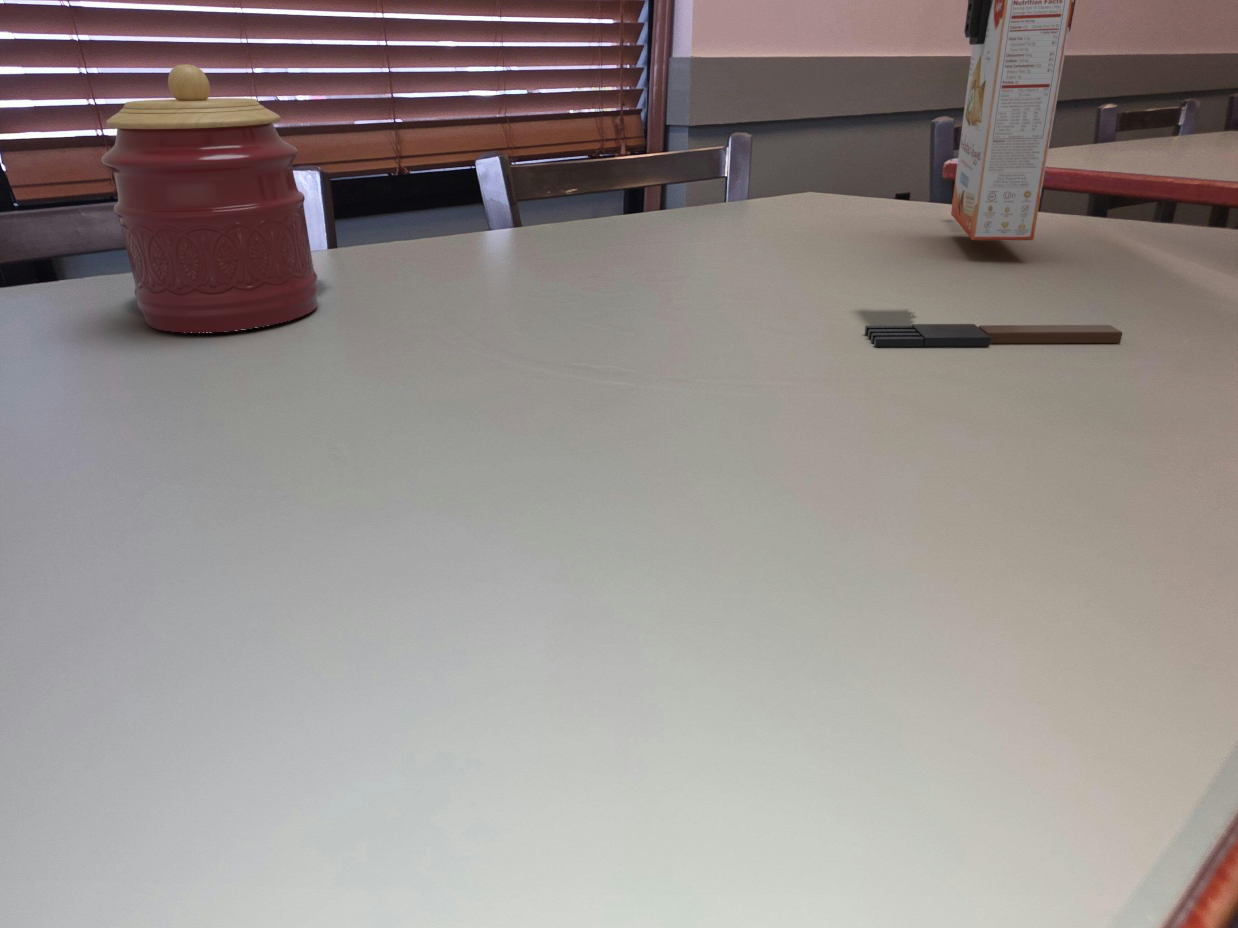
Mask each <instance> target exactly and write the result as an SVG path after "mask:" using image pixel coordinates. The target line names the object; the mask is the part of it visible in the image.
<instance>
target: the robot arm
mask: <svg viewBox="0 0 1238 928" xmlns="http://www.w3.org/2000/svg"><path fill="white" fill-rule="evenodd" d="M1076 1H1077V0H1074V5H1073V10H1072V16H1071V22H1070V28H1069V32H1070V31H1071V30H1072V23H1073V18H1074V12H1075V6H1076ZM990 3H991V0H967V9H966V17H965V24H964V31H963V33H964V37H965V38H966V39H968V41H969V43H968V44H969V45H970V46H972V45H980V44H984V42H985V36H986V30H987V23H988V17H989V10H990Z"/></svg>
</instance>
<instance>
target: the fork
mask: <svg viewBox="0 0 1238 928" xmlns="http://www.w3.org/2000/svg"><path fill="white" fill-rule="evenodd" d="M864 335H865V336H867V339H869V340H870V342H871V343H872V344H873V345H874V347H875V348H923V347H925V348H948V347H949V348H953V347H954V348H958V347H959V348H973V347H974V348H976V347H977V348H979V347H980V348H984V347H985V348H986V347H987V348H988V347H990V345H991V344H993V345H994V344H1120V343H1121V341H1122V338H1123V331H1121V330H1120V329H1117V328H1116V327H1114V326H1112V325H1111V324H1025V325H1024V324H1009V325H1008V324H1007V325H1006V324H1003V325H1002V324H1000V325H999V324H998V325H997V324H995V325H994V324H991V325H990V324H987V325H985V324H984V325H981V324H979V325H978V326H977V325H976V324H975V323H912V324H909V325H905V324H904V325H865V326H864Z"/></svg>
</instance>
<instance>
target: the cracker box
mask: <svg viewBox="0 0 1238 928" xmlns="http://www.w3.org/2000/svg"><path fill="white" fill-rule="evenodd" d="M1073 5H1074V0H991V3H990V10H989V17H988V23H987V30H986V36H985V42H984V44H980V45H971V46H972V47H971V53H970V61H969V62H970V63H969V71H968V77H967V84H966V85H967V86H966V94H965V101H964V109H963V115H962V126H961V132H960V141H959V150H958V155H957V157H958V158H957V165H956V172H955V178H954V179H955V180H954V187H953V193H952V194H953V195H952V204H951V212H950V214H951V215H950V216H952V218H954V220H955V221H956V222H957V224H958V225H959V226H960V228H961V229H962V230H963V231H964V232H965V233H966V235H967V236H968V237H969V238H970V240H971V241H1033V240H1034V239H1035V232H1036V227H1037V220H1038V215H1039V209H1040V202H1041V197H1042V191H1043V184H1044V179H1045V171H1046V167H1047V161H1048V155H1049V149H1050V143H1051V137H1052V131H1053V125H1054V121H1055V114H1056V109H1057V102H1058V96H1059V90H1060V86H1061V85H1060V84H1061V79H1062V73H1063V67H1064V61H1065V55H1066V51H1067V50H1066V49H1067V45H1068V39H1069V33H1070V31H1069V28H1070V22H1071V16H1072V10H1073ZM1071 23H1072V22H1071Z"/></svg>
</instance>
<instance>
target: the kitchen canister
mask: <svg viewBox="0 0 1238 928" xmlns="http://www.w3.org/2000/svg"><path fill="white" fill-rule="evenodd" d="M167 77H168V78H167V85H168V90H169V91H170V94H171V95H172V97H173V98H172V99H171V98H169V99H168V98H167V99H147V100H133V101H127V102H125V103H124V104H123V107H122V108H121V109H120V110H119V111H118V112H117V113H115V114H113V115H112V116H111V117H109V118H108V119H107V120H106V126H108V127H109V128H111V129H116V137H115V142H114V145H113V146H112V147H111V148H110V149H109V150H107V151H106V152H105V153H104V154H103V155H102V156H101V163H102V164H103V165H104V166H105V167H106V168H108V169H109V170H110V171H111V172H112V173H113V176H114V180H115V186H116V191H117V202H116V203H115V204H114V206H113V211H114V213H115V214H116V215H117V218H118V221H119V225H120V229H121V233H122V237H123V241H124V245H125V250H126V253H127V257H128V261H129V265H130V269H131V274H132V277H133V281H134V295H135V297H136V299H137V303H136V305H137V307H138V309H139V310H140V312H141V314H142V315H143V318H144V320H145V323H146V324H147V325H148V326H149V327H151V328H152V329H155V328H156V329H155V330H158V329H160V330H159V331H161V330H165V331H164V332H166V331H172V332H171V333H174V332H183V333H182V334H187V333H191V332H192V333H199V332H200V333H203V332H204V333H206V332H208V333H209V332H224V331H235V330H241V329H250V328H255V327H263V326H267V325H273V326H275V325H274V324H277V325H279V324H278V323H281V324H283V323H282V322H285V323H287V322H286V321H288V322H292V321H295V320H297V319H300V318H302V317H305V316H306V314H307V315H309V314H310V313H312V312H313V311H314V310H315V309H316V308H318V304H319V299H318V294H319V291H320V288H319V287H320V286H319V283H318V274H317V272H316V271H315V268H314V263H313V257H312V256H313V255H312V251H311V244H310V238H309V232H308V231H309V230H308V225H307V218H306V212H305V206H304V203H305V200H306V197H305V194H304V193H303V192H302V191H300V190H298V186H297V183H296V179H295V174H294V169H293V163H294V161H295V159H296V158H297V156H298V154H299V152H298V149H297V148H296V147H295V146H294V145H292V144H290V143H289V142H288V141H285V140H284V139H283V138H282V137H281V136H280V135H279V133H278V131H277V129H276V127H275V125H274V123H280V121H281V116H280V115H279V114H278V113H276V112H274V111H272V110H270V109H268V108H266V107H265V106H264V105H262V104H260V102H259V101H258V100H257V99H255V98H245V97H243V98H242V97H222V98H221V97H213V98H212V97H211V98H210V94H211V85H210V81H209V80H208V77H207V75H206V73H205V72H204V71H203V70H202V69H201V68H200V67H198V66H196V65H193V64H185V63H184V64H178V65H176V66H174V67H172V68H171V70H170V72H169V74H168V76H167ZM304 315H305V316H304ZM299 317H300V318H299ZM296 318H297V319H296ZM294 319H295V320H294ZM291 320H292V321H291ZM263 328H264V327H263ZM184 332H185V333H184Z"/></svg>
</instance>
